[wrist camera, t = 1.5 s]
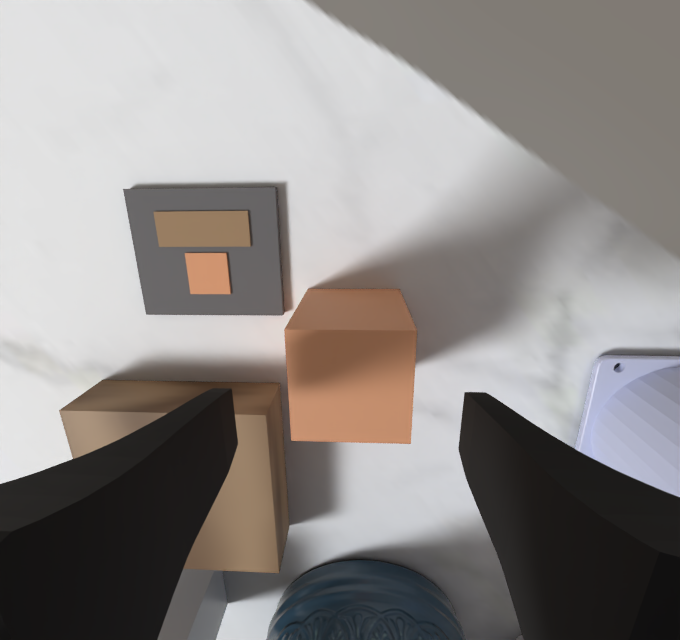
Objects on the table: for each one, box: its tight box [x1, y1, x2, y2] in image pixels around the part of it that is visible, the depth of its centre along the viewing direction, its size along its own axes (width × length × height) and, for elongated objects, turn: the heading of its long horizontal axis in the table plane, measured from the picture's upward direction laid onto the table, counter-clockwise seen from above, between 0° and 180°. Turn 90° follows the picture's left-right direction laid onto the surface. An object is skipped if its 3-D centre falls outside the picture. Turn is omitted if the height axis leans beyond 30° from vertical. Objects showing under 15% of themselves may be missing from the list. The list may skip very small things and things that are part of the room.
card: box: [123, 187, 284, 315], centre depth 18 cm, size 7×6×1 cm
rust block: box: [284, 289, 417, 444], centre depth 16 cm, size 4×4×6 cm
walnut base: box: [59, 380, 289, 573], centre depth 21 cm, size 10×10×4 cm
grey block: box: [157, 569, 228, 640], centre depth 22 cm, size 4×4×6 cm
